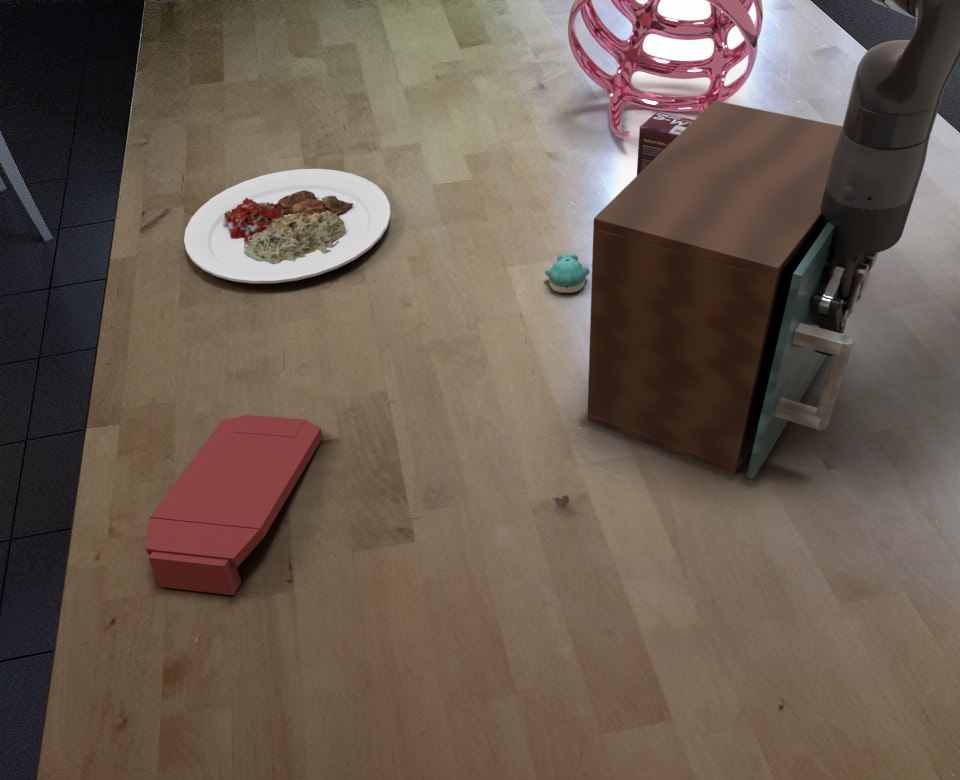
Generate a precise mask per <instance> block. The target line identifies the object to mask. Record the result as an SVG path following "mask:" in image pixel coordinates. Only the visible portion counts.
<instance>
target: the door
mask: <svg viewBox="0 0 960 780" xmlns="http://www.w3.org/2000/svg"><path fill="white" fill-rule="evenodd" d="M834 229H835V226H833V225H832V224H830V223H827V225H826V226H825V228H824V229H823V230H822V232H821V233H820V235H819V236H818V238H817V239H816V241H815V242H814V244H813V245H812V247H811V248H810V250H809V251H808V253H807V254H806V256H805V257H804V258H803V260H802V261H801V263H800V264H799V266H798V267H797V269H796V270H795V272H794V273H793V277H792V281H791V285H790V290H789V294H788V298H787V303H786V307H785V311H784V316H783V320H782V324H781V329H780V333H779V337H778V342H777V346H776V351H775V355H774V359H773V364H772V368H771V372H770V377H769V381H768V385H767V390H766V394H765V398H764V403H763V407H762V411H761V416H760V420H759V424H758V429H757V433H756V437H755V442H754V446H753V448H752V450H751V455H750V459H749V462H748V463H749V464H748V468H747V471H746V477H745V478H747V479H748V480H749V479H750V480H754V479H755V478H756V476H757V475H758V473H759V472H760V469H761V468H762V466H763V464H764V462H765V461H766V459H767V457H768V456H769V454H770V452H771V451H772V449H773V448H774V446H775V444H776V442H777V440H778V439H779V438H780V435H781V434H782V432H783V431H784V429H785V427H786V425H787V424H788V422H791V423H794V424H798V425H802V426H805V427H808V428H811V429H815V430H818V431H823V430H826V429H827V428H828V425H829V423H830V419H831V416H832V413H833V410H834V407H835V403H836V400H837V397H838V393H839V390H840V387H841V385H842V381H843V378H844V374H845V372H846V368H847V365H848V362H849V358H850V355H851V353H852V349H853V346H854V342H855V339H854V338H853V336H851V335H848V334H845V333H843V334H841V333H837V332H833V331H830V330H826V329H822V328H819V326H817V325H814V324H813V320H812V313H811V307H810V305H811V299H812V297H813V296H814V294H815V293H817V294H818V293H820V294H822V290H823V286H824V281H825V277H826V271H827V267H828V265H829V262H830V259H831V256H832V254H833V252H832V250H831V249H830V244H831V240H832V236H833V232H834ZM814 350H818V351H822V352H825V353H829V354H833V356H831V360H830V364H829V368H828V371H827V374H826V378H825V381H824V384H823V387H822V391H821V394H820V398H819V402H818V405H817V407H816V406H812V405H809V404H806V403H802V402H801V401H802V399H803V397H804V395H805V393H806V392H807V390H808V388H809V387H810V385H811V384H812V382H813V380H814V379H815V378H816V375H817V374H818V372H819V370H820V368H821V366H822V365H823V363H824V362H825V360H826V358H827V355H824V354H820V353H817V352H815V351H814Z"/></svg>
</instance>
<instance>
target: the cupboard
mask: <svg viewBox="0 0 960 780" xmlns="http://www.w3.org/2000/svg"><path fill="white" fill-rule="evenodd" d="M699 114H700V113H699ZM699 114H698V115H697V117H696V118H694V119H693V120H694V121H693V122H692V123H691V124H690V125H689V126H688V127H687V128H686V129H685V130H684V131H683V132H682V133H681V134H680V135H679V136H677V137H676V138H675V139H674V140H673V141H672V142H671V143H670V144H669V145H668V146H667V147H666V148H665V149H664V150H663V151H662V152H661V153H660V154H659V155H658V156H657V157H656V158H655V159H654V160H653V161H652V162H651V163H650V164H649V165H648V166H647V167H646V168H645V169H644V170H643V171H642V172H641V173H640V174H639V175H638V176H637V175H636V176H635V177H634V178H633V180H631V181H630V182H629V183H628V184H627V185H626V186H625V187H624V188H623V189H622V190H621V191H620V192H619V193H618V194H617V195H616V196H614V198H613V199H612V200H611V201H610V202H609V203H608V204H606V205H605V207H604V208H603V209H601V210H600V212H598V213H597V214H596V215H595V216H594V217H593V229H592V257H591V258H592V261H591V263H592V264H591V288H590V289H591V292H590V295H591V296H590V319H589V320H590V321H589V322H590V323H589V324H590V325H589V354H588V355H589V356H588V358H589V359H588V384H587V386H588V387H587V388H588V389H587V417H586V418H587V419H586V420H587V422H591V423H593V424H596V425H598V426H600V427H603V428H606V429H609V430H612V431H615V432H618V433H620V434H623V435H625V436H629V437H632V438H634V439H636V440H639V441H642V442H645V443H647V444H649V445H654V446H656V447H659V448H662V449H664V450H666V451H669V452H672V453H674V454H678V455H682V456H684V457H687V458H690V459H692V460H694V461H698V462H700V463H703V464H706V465H709V466H711V467H714V468H717V469H720V470H722V471H725V472H728V473H731V474H733V475H735V474H736V473H737V472H738V470H739V469H740V467H741V466H742V465H743V463H744V462H745V460H746V459H747V457H748V456H749V454H750V453H751V452H752V450H753V446H754V442H755V437H756V433H757V429H758V424H759V420H760V416H761V411H762V407H763V403H764V398H765V394H766V390H767V385H768V381H769V377H770V372H771V368H772V364H773V359H774V355H775V351H776V346H777V342H778V337H779V333H780V329H781V324H782V320H783V316H784V311H785V307H786V303H787V298H788V294H789V290H790V285H791V281H792V277H793V273H794V272H795V270H796V269H797V267H798V266H799V264H800V263H801V261H802V260H803V258H804V257H805V256H806V254H807V253H808V251H809V250H810V248H811V247H812V245H813V244H814V242H815V241H816V239H817V238H818V234H817V230H816V227H817V226H818V224H819V223H820V220H821V216H822V211H821V203H822V199H823V195H824V190H825V186H826V182H827V178H828V174H829V169H830V165H831V161H832V157H833V153H834V150H835V147H836V144H837V142H838V139H839V136H840V134H841V130H842V127H843V125H839V124H833V123H828V122H823V121H818V120H814V119H808V118H803V117H798V116H793V115H789V114H783V113H779V112H773V111H768V110H763V109H759V108H753V107H750V106H749V107H748V106H743V105H738V104H734V103H730V102H729V103H728V102H725V101H724V102H719V101H713V102H712V103H711V104H710V105H709V106H708V107H707V108H706V109H705V110H704V111H703V112H702V113H701V114H700V115H699Z"/></svg>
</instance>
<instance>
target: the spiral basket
mask: <svg viewBox="0 0 960 780" xmlns="http://www.w3.org/2000/svg"><path fill="white" fill-rule="evenodd" d="M661 1H662V0H646V2H644V3H640V2H639V1H637V0H610V2H611V3H612V4H613V6H614V7H615V8H616V10H617V11H618V12H619V13H620V14H621V15H622V16H623V17H624V18H625V19H627V21H629V22H630V23H631V26H632V28H631V33H630V35H629V37H628V38H627V39H625V40H623V39H621V38H619V37H618V36H617V35H616V34H614V33H613V32H612V31H611V30H610V29H609V27H607V26H606V25H605V23H604V22H603V20H602V19H601V18H600V16H599V15H598V13H597V11H596V9H595V5H594V4H593V1H592V0H574V1H573V3H572V6H571V9H570V12H569V17H568V23H567V25H568V26H567V35H568V36H567V38H568V44H569V47H570V51H571V53H572V56H573V58H574V59H575V61H576V63H577V64H578V66H579V67H580V68H581V70H582V71H583V72H584V73H585V75H586V76H587V77H588V78H590V80H591V81H593V82H594V83H595V84H596V85H597V86H599V87H600V88H601V89H602V90H604V91H605V92H606V93H607V95H608V98H609V106H608V107H609V110H608V119H609V126H610V129H611V131H612V133H613V134H614V135H615V136H616V137H617V138H619V139H627V138H628V137H629V136H630V134H631V132H630V131H629V130H624V131H623V129H622V122H623V121H622V119H623V113H624V108H625V106H626V105H628V104H629V105H635V106H638V107H641V108H646V109H650V110H654V111H659V112H660V111H661V112H672V113H673V112H675V113H676V112H677V113H683V112H685V113H686V112H694V111H696V112H699V114H698V116H699V115H700V114H701V113H702V112H703V111H704V110H705V109H706V108H707V107H708V106H709V105H710V104H711V103H712V102H713V101H719V102H724V103H725V101H726V100H729V99H730V98H732V96H734V95H736V93H738V91H740V90H741V88H743V86H744V85H745V83H746V82H747V81H748V79H749V77H750V75H751V73H752V71H753V69H754V66H755V63H756V60H757V55H758V50H759V49H758V46H759V43H758V42H759V41H758V40H759V38H760V35H761V31H762V27H763V23H764V22H763V21H764V8H763V7H764V6H763V0H705V2H708V3H709V6H710V15H709V16H708V17H706V18H703V19H695V20H693V19H692V20H685V19H677V18H672V17H669V16H665V15H662V14H661V13H660V12H659V5H660V2H661ZM753 6H754V9H755V21H753V19H752V17H751V15H750V14H749V12H750V10H751V8H752V7H753ZM579 12H580V15H581V18H582V20H583V23H584V25H585V27H586V29H587V31H588V32H589V34H590V35H591V37H592V38H593V39H594V41H595V42H596V43H597V44H598V45H599V46H600V47H601V48H602V49H603V50H604V51H606V52H607V53H608V54H609V55H610V56H612V57H613V58H614V60H615V61H616V64H617V68H616V71H615V73H614V74H609V73H607V72H606V71H605V70H604V69H602V68H601V67H600V66H599V65H598V64H597V63H596V62H594V61H593V59H592V58H591V57H590V56H589V55H588V53H587V52H586V50H585V49H584V47H583V46H582V44H581V42H580V39H579V37H578V34H577V30H576V19H577V15H578V13H579ZM735 27H736V28H737V29H738V31H739V32H740V34H741V36H742V37H743V41H741V42H740V43H739V44H738V45H736V46H735V47H733V48H729V46H728V37H729V33H730V32H731V31H732V29H734V28H735ZM650 35H656V36H660V37H663V38H667V39H672V40H679V41H680V40H681V41H697V40H704V39H710V40H712V42H713V51H712V54H711V55H710V56H709V57H707V58H705V59H698V60H677V59H676V60H675V59H668V58H663V57H660V56H655V55H651V54H649V53H647V52H646V51H645V50H644V42H645V41H646V38H647V37H648V36H650ZM747 57H748V58H747ZM746 58H747V65H746V68H745V69H744V71H743V72H742V73H741V74H740V75H739V76H738V77H737V79H735V80H733V81H732V82H731V83H729V84H727V85H725V81H726V76H727V74H728V73H729V72H730V70H732V69H733V68H734V67H736V66H737V65H738V64H740V63H741V62H742V61H743V60H745V59H746ZM637 72H641V73H645V74H648V75H652V76H655V77H661V78H665V79H666V78H667V79H675V80H695V79H704V78H707V79H709V86H708V89H707V90H706V91H705V92H704V93H701V94H698V95H688V96H675V95H674V96H673V95H665V94H664V95H663V94H658V93H653V92H649V91H645V90H641V89H639V88H638V87H637V88H636V87H635V86H634V85H633V83H632V78H633V75H634V74H635V73H637Z"/></svg>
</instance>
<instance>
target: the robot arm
mask: <svg viewBox="0 0 960 780" xmlns="http://www.w3.org/2000/svg"><path fill="white" fill-rule="evenodd" d="M871 2H873V3H875V4H878V5H880V6H882V7H884V8H888V9H890V10H893V11H895V12H898V13H901V14H902V15H905V16H907V17H909V18H913V19H915V26H914V30H913V32H912V35H911V36H910V39H897V40H890V41H885V42H881V43H879V44H877V45H874V46H873V47H871V48H870V49H868V50H867V51H866V52H865V53H864V55H863V56H862V57H861V59H860V61H859V62H858V65H857V67H856V68H857V69H856V70H855V71H856V72H855V75H854V77H853V82H852V86H851V90H850V93H849V97H848V101H847V106H846V111H845V114H844V119H843V123H842V124H843V125H842V126H843V127H842V130H841V134H840V136H839V139H838V142H837V144H836V147H835V150H834V153H833V157H832V161H831V165H830V169H829V174H828V178H827V182H826V186H825V190H824V195H823V199H822V203H821V211H822V216H821V220H820V223H819V224H818V226H817V227H816V230H817V234H818V236H819V235H820V233H821V232H822V230H823V229H824V228H825V226H826V225H827V223H830V224H832V225H833V226H835V229H834V232H833V236H832V240H831V244H830V249H831V250H832V252H833V254H832V256H831V259H830V262H829V265H828V267H827V271H826V277H825V281H824V286H823V290H822V294H820V293H818V294H817V293H815V294H814V296H813V297H812V299H811V305H810V307H811V313H812V320H813V324H814V325H817V326H819V328H822V329H826V330H830V331H833V332H837V333H841V334H844V331H845V329H846V324H847V321H848V318H850V316H851V315H853V313H854V306H855V304H856V303H858V302H859V300H860V299H861V297H862V294H863V292H865V291H864V290H865V288H866V285H867V282H868V278H869V275H870V272H871V270H872V269H873V267H874V266H875V264H876V262H877V259H878V255H879V253H882V252H885V251H887V250H889V249H891V248H893V247H895V245H896V244H897V243H898V242H899V241H900V240H901V238H902V236H903V234H904V230H905V227H906V225H907V221H908V217H909V214H910V211H911V208H912V205H913V202H914V198H915V195H916V192H917V190H918V186H919V183H920V180H921V176H922V173H923V171H924V166H925V163H926V160H927V159H926V158H927V154H928V147H929V146H928V145H929V143H930V137H931V134H932V132H933V129H934V124H935V122H936V118H937V115H938V112H939V108H940V106H941V103H942V99H943V95H944V92H945V89H946V86H947V84H948V82H949V80H950V78H951V76H952V74H953V72H954V71H955V69H956V68H957V65H958V63H959V62H960V0H871ZM814 351H815V352H817V353H820V354H824V355H827V356H828V357H833V354H829V353H825V352H822V351H818V350H814Z"/></svg>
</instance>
